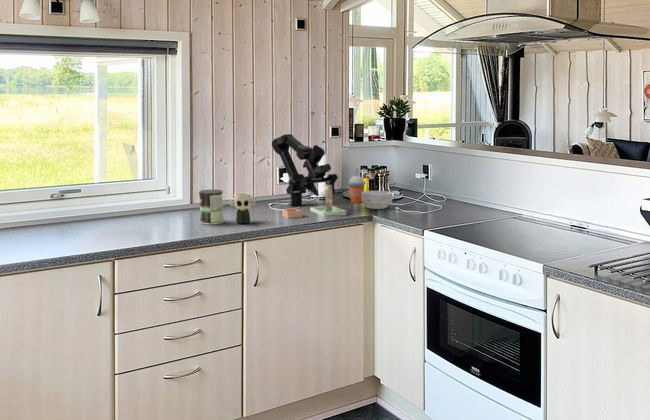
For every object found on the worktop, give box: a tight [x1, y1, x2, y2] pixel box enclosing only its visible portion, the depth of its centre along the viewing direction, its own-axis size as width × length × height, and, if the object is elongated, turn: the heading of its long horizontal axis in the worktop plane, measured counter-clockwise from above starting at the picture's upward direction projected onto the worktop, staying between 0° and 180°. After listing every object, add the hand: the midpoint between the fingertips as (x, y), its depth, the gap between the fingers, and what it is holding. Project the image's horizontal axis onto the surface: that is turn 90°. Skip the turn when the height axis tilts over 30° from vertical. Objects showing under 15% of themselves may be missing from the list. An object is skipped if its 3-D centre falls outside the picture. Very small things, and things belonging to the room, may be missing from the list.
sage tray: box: [309, 205, 347, 217], centre depth 300 cm, size 16×12×2 cm
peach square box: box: [281, 207, 303, 219], centre depth 290 cm, size 7×7×4 cm
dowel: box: [324, 184, 333, 212], centre depth 298 cm, size 3×3×13 cm
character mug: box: [229, 192, 256, 224], centre depth 278 cm, size 11×7×13 cm, turn 98°
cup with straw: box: [347, 167, 366, 204], centre depth 330 cm, size 9×9×18 cm
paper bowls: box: [361, 190, 393, 210], centre depth 313 cm, size 15×15×8 cm
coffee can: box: [198, 189, 225, 226], centre depth 280 cm, size 10×10×14 cm
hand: (326, 194), depth 299 cm, fingers open, 9 cm apart
